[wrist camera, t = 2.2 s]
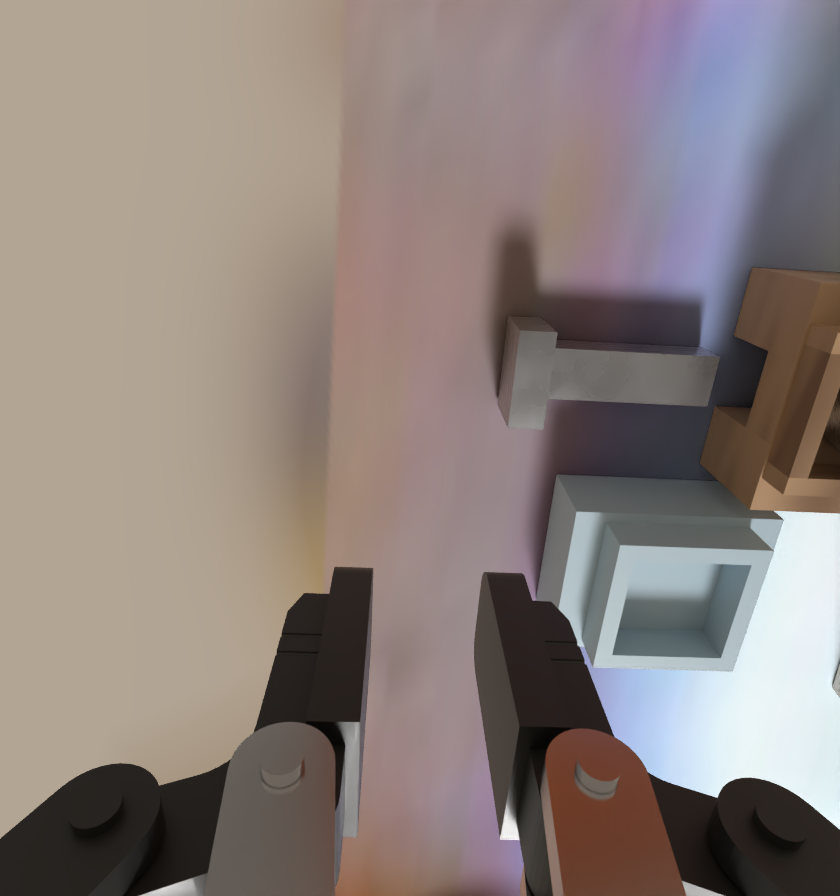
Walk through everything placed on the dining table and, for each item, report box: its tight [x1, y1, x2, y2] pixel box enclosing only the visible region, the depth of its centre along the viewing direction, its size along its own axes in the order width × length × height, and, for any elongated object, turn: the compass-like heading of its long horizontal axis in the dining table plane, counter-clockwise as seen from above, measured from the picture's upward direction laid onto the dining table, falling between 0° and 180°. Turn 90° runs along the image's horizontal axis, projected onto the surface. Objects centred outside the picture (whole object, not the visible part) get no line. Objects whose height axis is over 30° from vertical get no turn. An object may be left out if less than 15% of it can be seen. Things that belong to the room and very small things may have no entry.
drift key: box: [498, 316, 720, 429], centre depth 28 cm, size 10×4×3 cm, turn 87°
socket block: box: [700, 267, 840, 513], centre depth 27 cm, size 7×10×7 cm
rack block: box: [536, 474, 784, 671], centre depth 31 cm, size 10×8×6 cm
